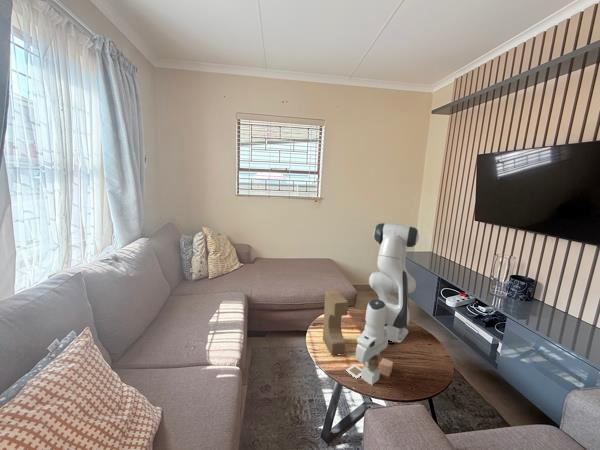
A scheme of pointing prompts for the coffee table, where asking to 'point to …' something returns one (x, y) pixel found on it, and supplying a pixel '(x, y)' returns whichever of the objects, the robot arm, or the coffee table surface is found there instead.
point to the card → (354, 371)
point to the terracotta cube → (385, 367)
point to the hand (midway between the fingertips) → (371, 362)
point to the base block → (370, 375)
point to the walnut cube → (373, 362)
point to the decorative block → (334, 321)
